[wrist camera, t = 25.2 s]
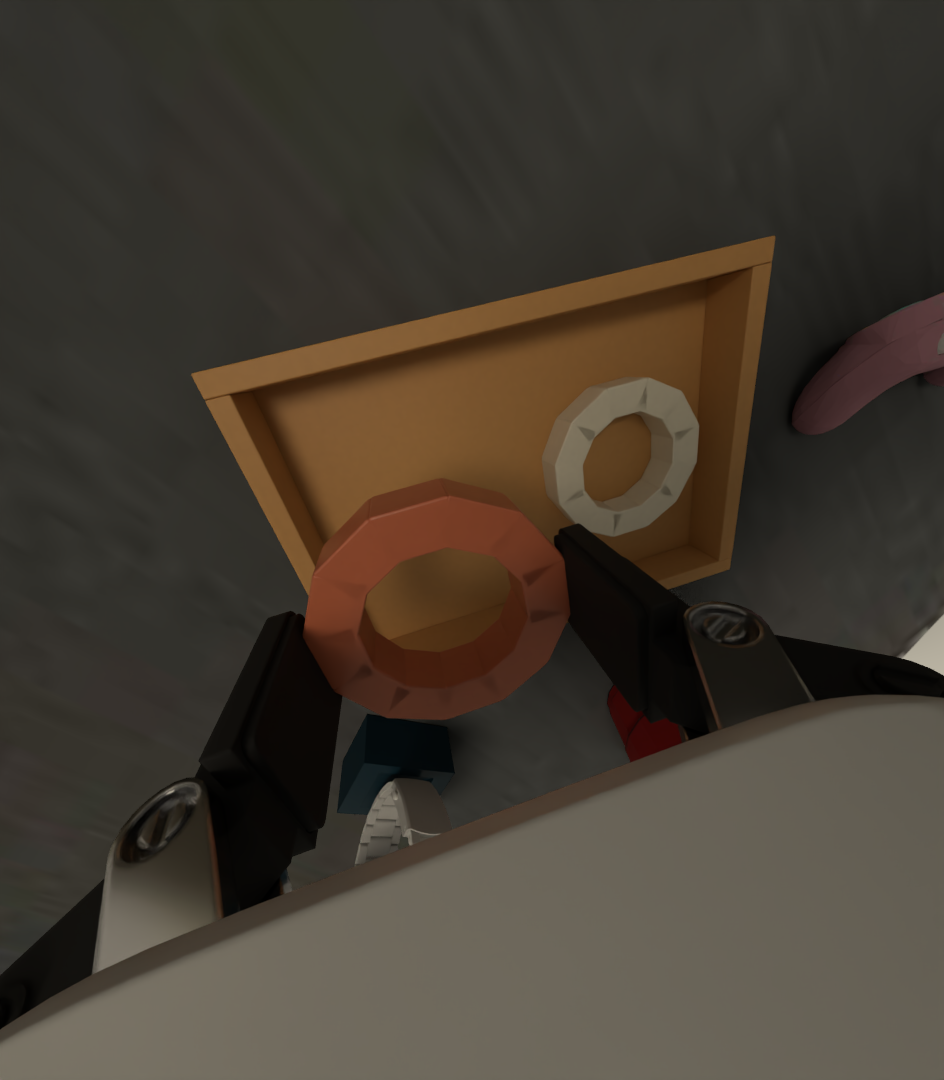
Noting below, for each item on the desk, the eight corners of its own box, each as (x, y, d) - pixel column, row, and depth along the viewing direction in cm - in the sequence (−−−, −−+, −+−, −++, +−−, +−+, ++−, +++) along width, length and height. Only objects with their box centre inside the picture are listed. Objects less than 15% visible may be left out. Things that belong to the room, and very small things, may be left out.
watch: (332, 780, 24) (296, 1059, 14) (377, 693, 22) (370, 956, 12) (410, 787, 26) (425, 1035, 16) (459, 709, 24) (510, 944, 14)
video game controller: (915, 311, 20) (1161, 189, 13) (941, 388, 20) (1199, 307, 13) (760, 365, 20) (931, 268, 13) (787, 444, 20) (972, 391, 13)
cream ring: (533, 401, 16) (547, 404, 14) (677, 362, 16) (704, 361, 15) (551, 539, 19) (565, 552, 18) (671, 502, 20) (693, 512, 18)
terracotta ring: (262, 607, 10) (241, 646, 9) (439, 424, 9) (449, 434, 8) (439, 709, 13) (445, 749, 12) (586, 580, 12) (613, 608, 11)
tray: (225, 373, 14) (189, 373, 11) (714, 256, 15) (776, 234, 13) (362, 652, 20) (359, 691, 18) (691, 547, 22) (730, 569, 20)
